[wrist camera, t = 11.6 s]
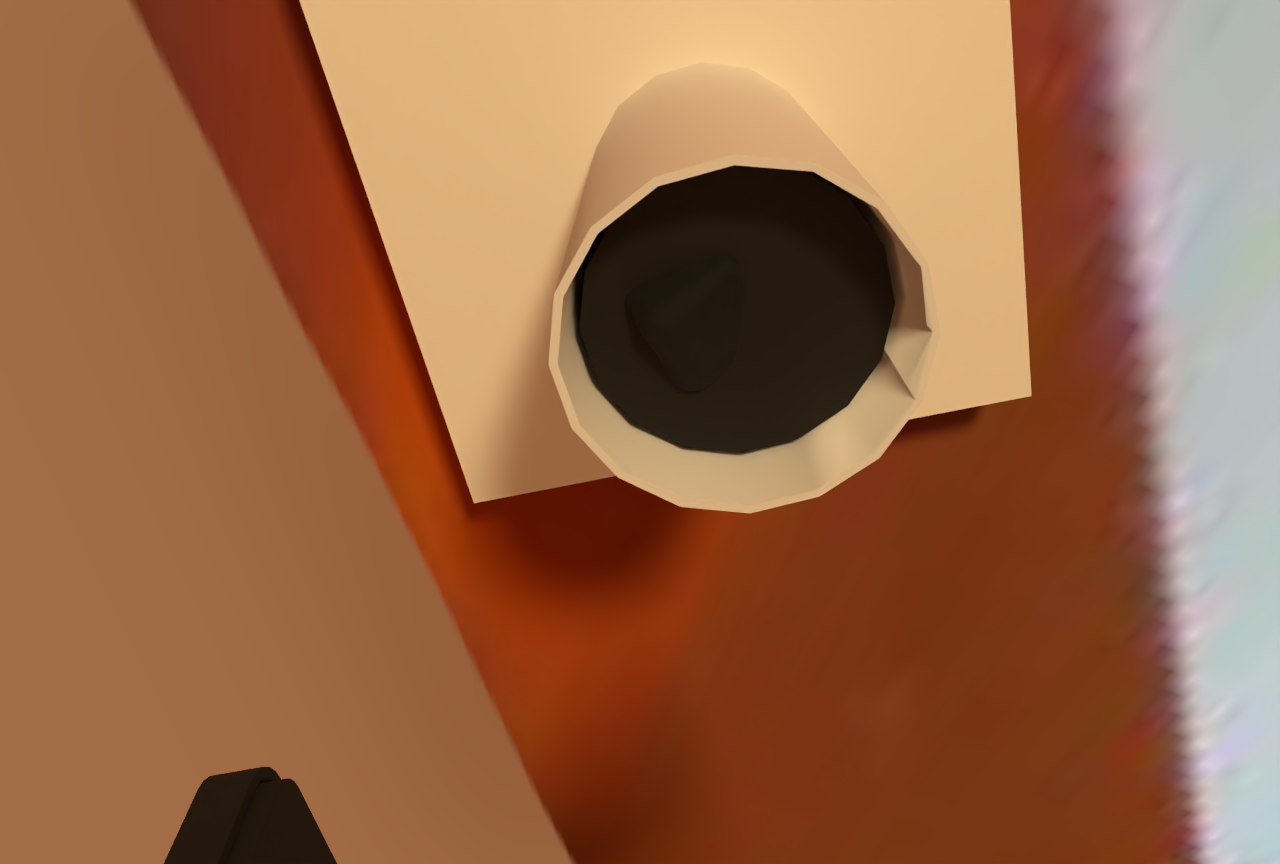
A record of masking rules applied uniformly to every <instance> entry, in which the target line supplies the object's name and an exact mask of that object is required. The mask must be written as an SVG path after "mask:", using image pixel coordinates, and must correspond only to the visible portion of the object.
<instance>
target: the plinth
mask: <svg viewBox="0 0 1280 864" xmlns="http://www.w3.org/2000/svg"><path fill="white" fill-rule="evenodd" d="M299 1H300V4H301V6H302V9H303V12H304V15H305V18H306V21H307V24H308V27H309V30H310V32H311V35H312V38H313V41H314V44H315V47H316V50H317V53H318V55H319V58H320V61H321V64H322V67H323V70H324V73H325V76H326V79H327V81H328V84H329V87H330V90H331V93H332V96H333V99H334V102H335V104H336V107H337V110H338V113H339V116H340V119H341V122H342V125H343V128H344V130H345V133H346V136H347V139H348V142H349V145H350V148H351V151H352V153H353V156H354V159H355V162H356V165H357V168H358V171H359V174H360V176H361V179H362V182H363V185H364V188H365V191H366V194H367V197H368V200H369V202H370V205H371V208H372V211H373V214H374V217H375V220H376V223H377V225H378V228H379V231H380V234H381V237H382V240H383V243H384V246H385V249H386V251H387V254H388V257H389V260H390V263H391V266H392V269H393V272H394V274H395V277H396V280H397V283H398V286H399V289H400V292H401V295H402V298H403V300H404V303H405V306H406V309H407V312H408V315H409V318H410V321H411V323H412V326H413V329H414V332H415V335H416V338H417V341H418V344H419V347H420V349H421V352H422V355H423V358H424V361H425V364H426V367H427V370H428V372H429V375H430V378H431V381H432V384H433V387H434V390H435V393H436V396H437V398H438V401H439V404H440V407H441V410H442V413H443V416H444V419H445V421H446V424H447V427H448V430H449V433H450V436H451V439H452V442H453V445H454V447H455V450H456V453H457V456H458V459H459V462H460V465H461V468H462V470H463V473H464V476H465V479H466V482H467V485H468V488H469V491H470V494H471V496H472V499H473V502H474V503H478V502H484V501H489V500H494V499H499V498H504V497H509V496H515V495H520V494H525V493H530V492H535V491H541V490H546V489H551V488H556V487H561V486H567V485H572V484H577V483H582V482H587V481H592V480H598V479H603V478H608V477H613V476H616V475H615V474H614V473H613V472H612V471H611V470H610V469H609V468H608V467H607V465H606V464H605V463H604V462H603V461H602V460H601V459H600V458H599V457H598V456H597V455H596V454H595V453H594V452H593V451H592V450H591V449H590V448H589V446H588V445H587V444H586V443H585V442H584V441H583V440H582V439H581V438H580V437H579V436H578V435H577V434H576V433H575V432H574V431H573V430H572V428H571V426H570V423H569V420H568V417H567V415H566V412H565V409H564V406H563V403H562V401H561V398H560V395H559V392H558V390H557V387H556V384H555V381H554V379H553V376H552V373H551V370H550V368H549V365H548V363H549V350H550V338H551V326H552V313H553V301H554V292H555V289H556V285H557V282H558V278H559V275H560V272H561V268H562V265H563V261H564V258H565V254H566V251H567V247H568V244H569V241H570V237H571V234H572V230H573V227H574V223H575V220H576V217H577V213H578V210H579V206H580V203H581V199H582V196H583V192H584V189H585V186H586V182H587V179H588V175H589V172H590V168H591V165H592V161H593V158H594V155H595V151H596V147H597V145H598V143H599V141H600V139H601V137H602V136H603V134H604V132H605V130H606V128H607V126H608V124H609V122H610V121H611V119H612V117H613V115H614V113H615V111H616V109H617V107H618V106H619V105H620V104H621V103H623V102H624V101H625V100H626V99H628V98H629V97H630V96H631V95H632V94H634V93H635V92H636V91H637V90H639V89H640V88H641V87H642V86H643V85H645V84H646V83H647V82H648V81H650V80H651V79H652V78H653V77H654V76H657V75H660V74H663V73H667V72H670V71H673V70H677V69H680V68H684V67H687V66H690V65H694V64H697V63H700V62H702V63H711V64H720V65H728V66H737V67H745V68H749V69H751V70H753V71H754V72H756V73H758V74H759V75H761V76H763V77H765V78H766V79H768V80H770V81H771V82H773V83H775V84H776V85H778V86H780V87H782V88H783V89H785V90H787V91H788V92H789V93H790V95H791V96H792V97H793V98H794V99H795V100H796V101H797V103H798V104H799V105H800V106H801V107H802V108H803V109H804V110H805V112H806V113H807V114H808V115H809V116H810V117H811V118H812V120H813V121H814V122H815V123H816V124H817V125H818V126H819V127H820V129H821V130H822V131H823V132H824V133H825V134H826V135H827V137H828V138H829V139H830V140H831V141H832V142H833V143H834V145H835V146H836V147H837V148H838V149H839V150H840V151H841V152H842V154H843V155H844V156H845V157H846V158H847V159H848V160H849V162H850V163H851V164H852V165H853V166H854V167H855V168H856V169H857V171H858V172H859V173H860V174H861V175H862V176H863V177H864V179H865V180H866V181H867V182H868V183H869V184H870V185H871V186H872V188H873V189H874V190H875V191H876V192H877V193H878V194H879V196H880V197H881V198H882V199H883V200H884V201H885V202H886V204H887V205H888V207H889V208H890V209H891V211H892V212H893V214H894V215H895V216H896V218H897V219H898V221H899V222H900V224H901V225H902V226H903V228H904V229H905V231H906V232H907V233H908V235H909V236H910V238H911V239H912V241H913V242H914V243H915V245H916V246H917V248H918V249H919V250H920V252H921V253H922V255H923V256H924V258H925V259H926V260H927V262H928V263H929V269H930V275H931V281H932V287H933V293H934V299H935V305H936V310H937V316H938V322H939V328H940V337H939V341H938V344H937V348H936V352H935V356H934V359H933V363H932V367H931V371H930V375H929V378H928V382H927V386H926V390H925V393H924V397H923V401H922V403H921V404H920V405H919V407H918V408H917V409H916V410H915V412H914V413H913V414H912V416H911V417H910V418H909V419H914V418H919V417H924V416H930V415H935V414H940V413H945V412H950V411H956V410H961V409H966V408H971V407H976V406H981V405H987V404H992V403H997V402H1002V401H1007V400H1013V399H1018V398H1023V397H1028V396H1031V379H1030V361H1029V343H1028V325H1027V307H1026V288H1025V270H1024V252H1023V234H1022V216H1021V198H1020V179H1019V161H1018V143H1017V125H1016V107H1015V88H1014V70H1013V52H1012V34H1011V16H1010V0H299Z"/></svg>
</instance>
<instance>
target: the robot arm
mask: <svg viewBox="0 0 1280 864" xmlns="http://www.w3.org/2000/svg"><path fill="white" fill-rule="evenodd" d="M164 864H337V863H336V861H335V859H334V857H333V855H332V853H331V851H330V849H329V847H328V845H327V843H326V841H325V839H324V837H323V835H322V833H321V831H320V829H319V827H318V825H317V823H316V821H315V819H314V817H313V815H312V813H311V811H310V809H309V808H308V805H307V803H306V801H305V799H304V797H303V795H302V793H301V792H300V789H299V787H298V786H297V785H296V783H295V782H294V781H293V780H291V779H282V780H281V778H280V777H279V776H278V774H277V773H276V771H274V770H273V769H272V768H270V767H260V768H255V769H248V770H243V771H237V772H231V773H225V774H219V775H214V776H210V777H208V778H207V779H206V780H204V781H203V782H202V784H201V786H200V787H199V789H198V791H197V793H196V795H195V797H194V799H193V801H192V804H191V806H190V808H189V810H188V812H187V814H186V817H185V819H184V821H183V823H182V825H181V827H180V830H179V832H178V834H177V836H176V838H175V840H174V843H173V845H172V847H171V849H170V851H169V853H168V856H167V858H166V860H165V862H164Z"/></svg>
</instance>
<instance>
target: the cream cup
mask: <svg viewBox="0 0 1280 864" xmlns="http://www.w3.org/2000/svg"><path fill="white" fill-rule="evenodd" d="M939 337H940V328H939V322H938V316H937V310H936V305H935V299H934V293H933V287H932V281H931V275H930V269H929V263H928V262H927V260H926V259H925V258H924V256H923V255H922V253H921V252H920V250H919V249H918V248H917V246H916V245H915V243H914V242H913V241H912V239H911V238H910V236H909V235H908V233H907V232H906V231H905V229H904V228H903V226H902V225H901V224H900V222H899V221H898V219H897V218H896V216H895V215H894V214H893V212H892V211H891V209H890V208H889V207H888V205H887V204H886V202H885V201H884V200H883V199H882V198H881V197H880V196H879V194H878V193H877V192H876V191H875V190H874V189H873V188H872V186H871V185H870V184H869V183H868V182H867V181H866V180H865V179H864V177H863V176H862V175H861V174H860V173H859V172H858V171H857V169H856V168H855V167H854V166H853V165H852V164H851V163H850V162H849V160H848V159H847V158H846V157H845V156H844V155H843V154H842V152H841V151H840V150H839V149H838V148H837V147H836V146H835V145H834V143H833V142H832V141H831V140H830V139H829V138H828V137H827V135H826V134H825V133H824V132H823V131H822V130H821V129H820V127H819V126H818V125H817V124H816V123H815V122H814V121H813V120H812V118H811V117H810V116H809V115H808V114H807V113H806V112H805V110H804V109H803V108H802V107H801V106H800V105H799V104H798V103H797V101H796V100H795V99H794V98H793V97H792V96H791V95H790V93H789V92H788V91H787V90H785V89H783V88H782V87H780V86H778V85H776V84H775V83H773V82H771V81H770V80H768V79H766V78H765V77H763V76H761V75H759V74H758V73H756V72H754V71H753V70H751V69H749V68H745V67H737V66H728V65H720V64H711V63H702V62H700V63H697V64H694V65H690V66H687V67H684V68H680V69H677V70H673V71H670V72H667V73H663V74H660V75H657V76H654V77H653V78H652V79H651V80H650V81H648V82H647V83H646V84H645V85H643V86H642V87H641V88H640V89H639V90H637V91H636V92H635V93H634V94H632V95H631V96H630V97H629V98H628V99H626V100H625V101H624V102H623V103H621V104H620V105H619V106H618V107H617V109H616V111H615V113H614V115H613V117H612V119H611V121H610V122H609V124H608V126H607V128H606V130H605V132H604V134H603V136H602V137H601V139H600V141H599V143H598V145H597V147H596V151H595V155H594V158H593V161H592V165H591V168H590V172H589V175H588V179H587V182H586V186H585V189H584V192H583V196H582V199H581V203H580V206H579V210H578V213H577V217H576V220H575V223H574V227H573V230H572V234H571V237H570V241H569V244H568V247H567V251H566V254H565V258H564V261H563V265H562V268H561V272H560V275H559V278H558V282H557V285H556V289H555V292H554V301H553V313H552V326H551V338H550V350H549V363H548V365H549V368H550V370H551V373H552V376H553V379H554V381H555V384H556V387H557V390H558V392H559V395H560V398H561V401H562V403H563V406H564V409H565V412H566V415H567V417H568V420H569V423H570V426H571V428H572V430H573V431H574V432H575V433H576V434H577V435H578V436H579V437H580V438H581V439H582V440H583V441H584V442H585V443H586V444H587V445H588V446H589V448H590V449H591V450H592V451H593V452H594V453H595V454H596V455H597V456H598V457H599V458H600V459H601V460H602V461H603V462H604V463H605V464H606V465H607V467H608V468H609V469H610V470H611V471H612V472H613V473H614V474H615V475H616V476H617V477H618V478H620V479H622V480H624V481H626V482H628V483H630V484H633V485H635V486H637V487H639V488H641V489H643V490H645V491H648V492H650V493H652V494H654V495H656V496H658V497H660V498H662V499H665V500H667V501H669V502H671V503H673V504H675V505H677V506H680V507H688V508H698V509H709V510H720V511H731V512H742V513H753V512H757V511H762V510H766V509H770V508H774V507H778V506H782V505H786V504H790V503H795V502H799V501H803V500H807V499H811V498H815V497H819V496H821V495H822V494H824V493H826V492H827V491H829V490H830V489H832V488H833V487H835V486H837V485H838V484H840V483H841V482H843V481H844V480H846V479H847V478H849V477H851V476H852V475H854V474H855V473H857V472H858V471H860V470H862V469H863V468H865V467H866V466H868V465H869V464H871V463H872V462H874V461H876V460H877V459H879V458H880V457H881V455H882V454H883V453H884V451H885V450H886V449H887V447H888V446H889V445H890V443H891V442H892V441H893V440H894V438H895V437H896V436H897V434H898V433H899V432H900V430H901V429H902V428H903V426H904V425H905V424H906V422H907V421H908V420H909V418H910V417H911V416H912V414H913V413H914V412H915V410H916V409H917V408H918V407H919V405H920V404H921V403H922V401H923V397H924V393H925V390H926V386H927V382H928V378H929V375H930V371H931V367H932V363H933V359H934V356H935V352H936V348H937V344H938V341H939Z"/></svg>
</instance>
